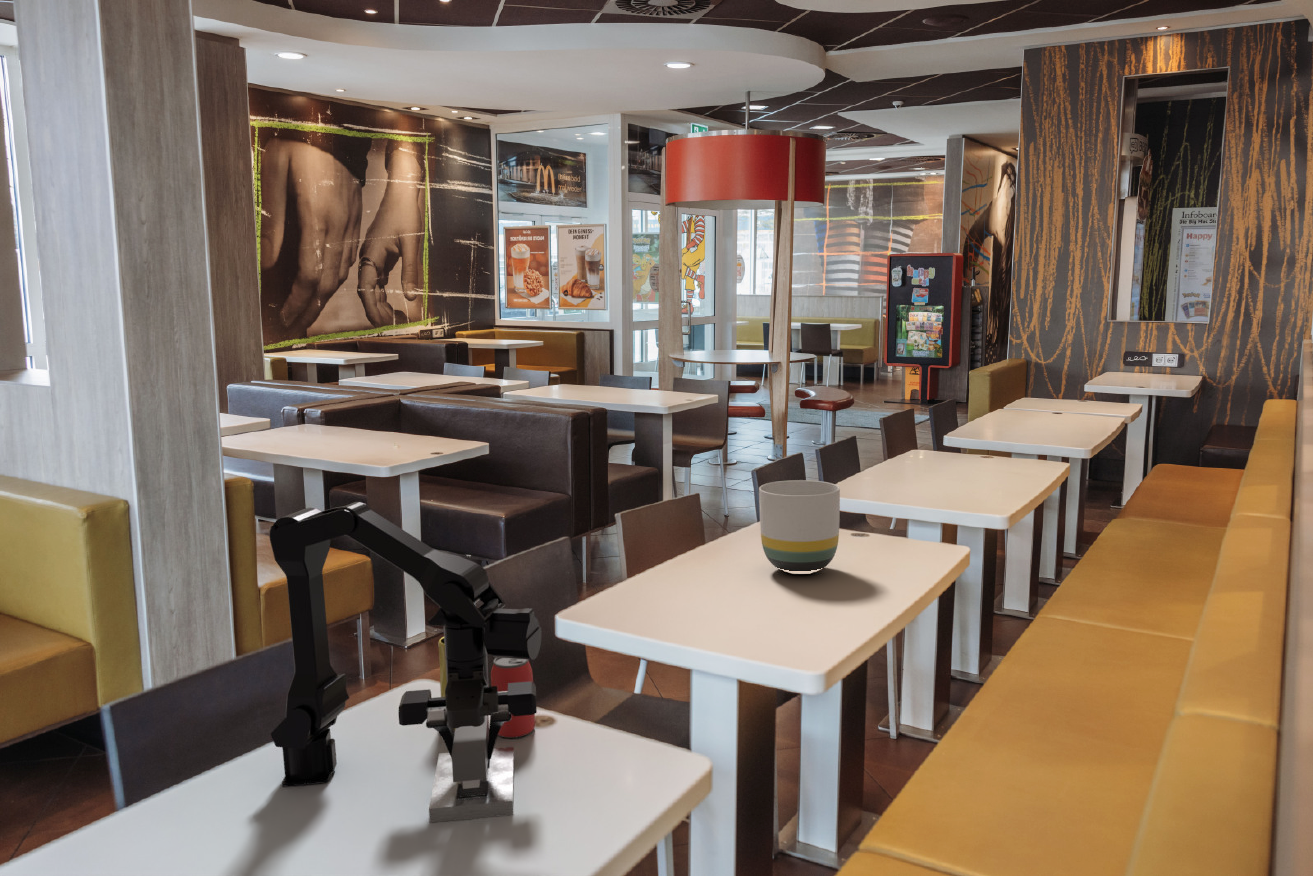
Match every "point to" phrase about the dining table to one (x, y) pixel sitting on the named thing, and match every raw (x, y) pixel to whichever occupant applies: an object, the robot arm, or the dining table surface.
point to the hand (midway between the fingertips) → (472, 760)
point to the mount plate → (474, 790)
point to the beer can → (500, 677)
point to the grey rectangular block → (470, 754)
